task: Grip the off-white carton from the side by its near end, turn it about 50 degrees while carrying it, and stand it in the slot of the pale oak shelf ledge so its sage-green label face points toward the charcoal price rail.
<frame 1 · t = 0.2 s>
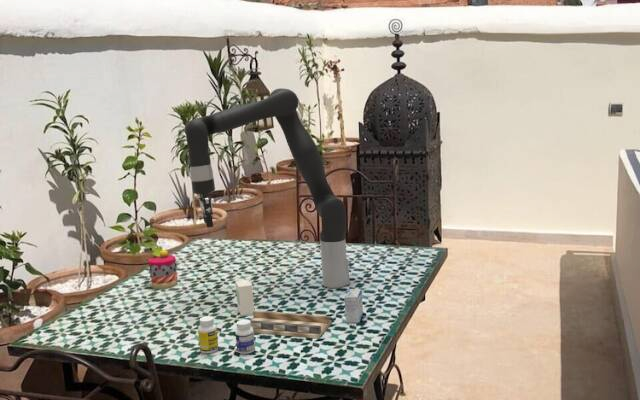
hand: (208, 224, 232), 28 cm above the table, tool pointing down, fingers open, 8 cm apart
medicine box: (354, 319, 215), on the table
cake: (164, 285, 262), on the table
supplement bottle: (209, 350, 198), on the table
pill bottle: (246, 351, 196), on the table
carton: (246, 311, 228), on the table
shelf ledge: (286, 327, 211), on the table
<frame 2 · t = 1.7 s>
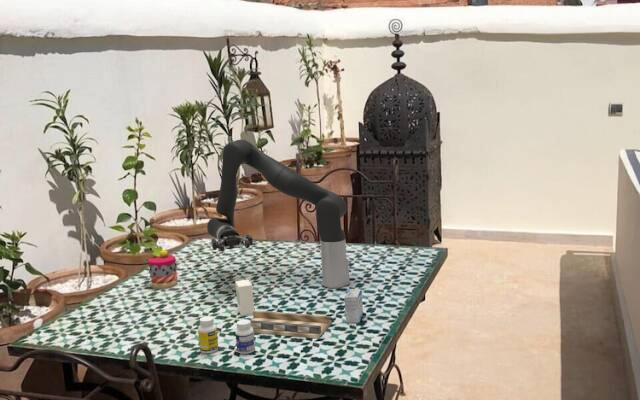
hand: (235, 247, 234), 20 cm above the table, tool horizontal, fingers open, 8 cm apart
nothing on the table moved.
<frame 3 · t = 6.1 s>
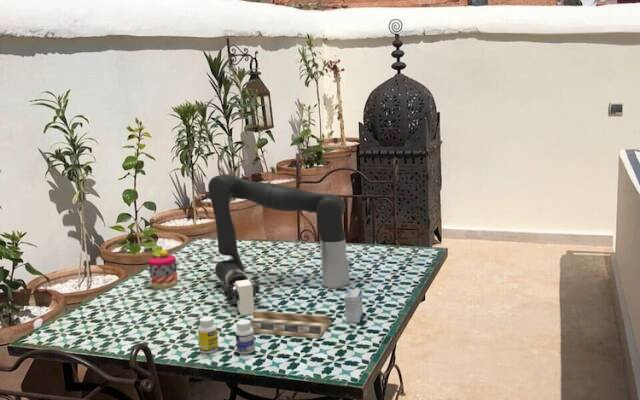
hand: (245, 296, 225), 6 cm above the table, tool horizontal, fingers closed on carton, 4 cm apart
carton: (246, 311, 228), on the table, touching gripper
everything else where it was.
when the fingers open (8 cm above the table, at t = 12.5 s): carton drops 1 cm, resting on shelf ledge.
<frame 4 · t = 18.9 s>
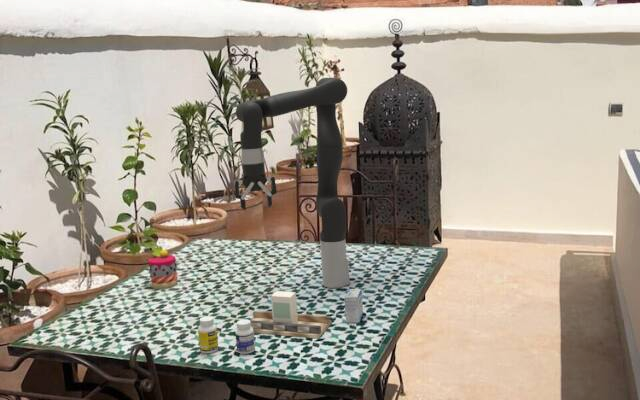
hand: (256, 208, 231), 33 cm above the table, tool pointing down, fingers open, 8 cm apart
carton: (285, 324, 211), point 1 cm above the table, touching shelf ledge
everything else where it was.
at the end: carton 0.1 cm off-centre on the shelf ledge, point 1.0 cm above the shelf ledge's base; carton tilted 0°; the gripper is holding nothing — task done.
